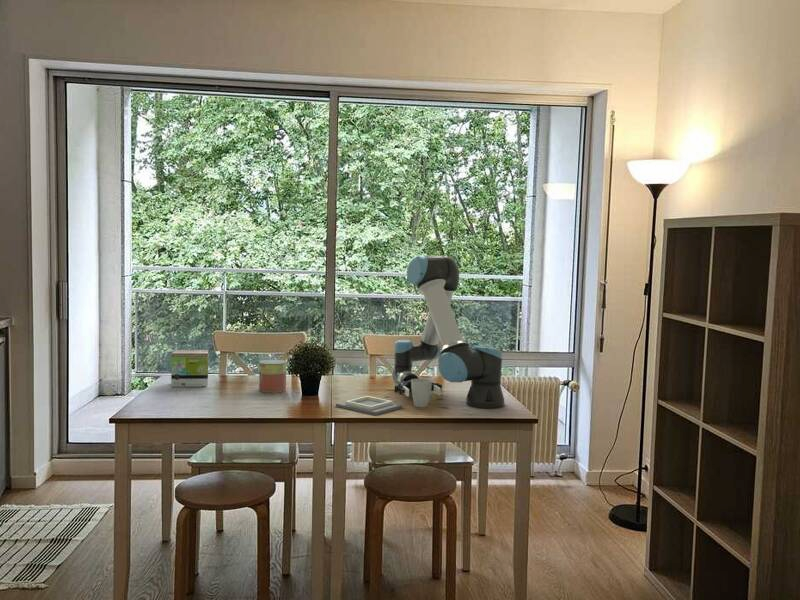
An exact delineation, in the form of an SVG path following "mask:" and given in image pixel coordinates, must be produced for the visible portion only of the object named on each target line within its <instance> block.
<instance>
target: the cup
mask: <svg viewBox="0 0 800 600" xmlns="http://www.w3.org/2000/svg"><path fill="white" fill-rule="evenodd" d="M432 382H433V380H432V379H429V378H428V379H427V378H419V379H412V380H411V386H412V392H411V395H412V403H413V406H414V407H416V408H427V407H428V405H429V403H430V399H431V394H432V391H431V388H432Z"/></svg>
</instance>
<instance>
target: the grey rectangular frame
mask: <svg viewBox="0 0 800 600" xmlns="http://www.w3.org/2000/svg"><path fill="white" fill-rule="evenodd" d="M336 406H337V408H340V407H342V408H341V409H345V408H346V409H345V410H349V409H351V410H350V411H354V410H356V411H355V412H358V411H359V412H360V413H364V414H369V415H373V416H378V415H382V414H385V413H388V412H389V411H390V412H392V410H393V411H397V410H400V409H403V404H399V403H396V402H395V403H394V400H390V399H384V398H379V397H375V396H370V395H365V396H361V397H358V398H354V399H348V400H344V401H341V402H337V403H335V407H336ZM399 408H400V409H399ZM396 409H397V410H396Z"/></svg>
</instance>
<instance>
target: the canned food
mask: <svg viewBox="0 0 800 600" xmlns="http://www.w3.org/2000/svg"><path fill="white" fill-rule="evenodd" d="M258 363H259V365H258V366H259V369H258V375H259V376H258V379H259V380H258V382H259V385H258V391H259V392H261V391H262V393H269V392H275V393H281V392H282V391H283V392H285V391H286V390H287V361H286V360H284V359H275V358H274V359H272V358H271V359H262V360H259V361H258Z"/></svg>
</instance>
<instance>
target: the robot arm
mask: <svg viewBox="0 0 800 600" xmlns="http://www.w3.org/2000/svg"><path fill="white" fill-rule="evenodd" d="M406 277H407V280H408V282H409V283H410V284H411V285H413V286H416V288H417V291H418V293H419V294H421V295H423V296H424V299H425V302H426V304H427V305H426V306H427V307H428V315H427V318H426V321H425V324H424V329H423V332H422V335H421V338H420V341H419V343H413V341H412V340H411V339H410V340H409V339H398V340H396V341H395V343H394V351H393V352H394V364H393V365H394V366H393V370H392V372H391V378H392V380H393V382H394V383H395V385H394V393H399V395H405V396H406V397H410V393H412V386H411V380H412V379H420V378H419V377H418V376H417V375H416V373H414V372H413V370H412V369H413V363H414V362H423V361H433V360H436V359H438V364H437V365H438V367H437V368H438V371H439V373H440V375H441V376H442V378H443V379H444V380H445V381H447V382H449V383H463V382H468V381H469V382H470V381H471V382H470V386H469V389H468V392H467V395H466V398H465V404H466V405H468V406H470V407H473V408H479V409H480V408H481V409H497V408H499V409H500V408H502V407H504V406H505V397H504V393H503V390H502V386H501V385H502V381H501V379H502V364H503V363H502V362H503V358H502V357H503V356H502V351H501V349H500V348H497V347H491V346H484V345H473V346H472V348H471V347H470V344H469V343H468V342H467V341H464V339H463V337H462V335H461V331H460V328H459V325H458V323H457V321H456V317H455V314H454V312H453V309H452V306H451V301H452V298H453V296H454V292H456V291H457V290H458V287H459V283H460V271H459V267H458V264H457V263H456V261H454V259H452V258H451V257H450V256H448V255H425V254H422V255H415V256H413V257H412V258H411V259H410V261H409V262H408V264H407V268H406ZM439 343H440V344H439ZM440 345H441V346H440ZM442 388H443V384H441V383H437V382H433V381H432V388H431V392H432V391H433V393H435V394H436V395H438V396H441V393H442Z"/></svg>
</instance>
